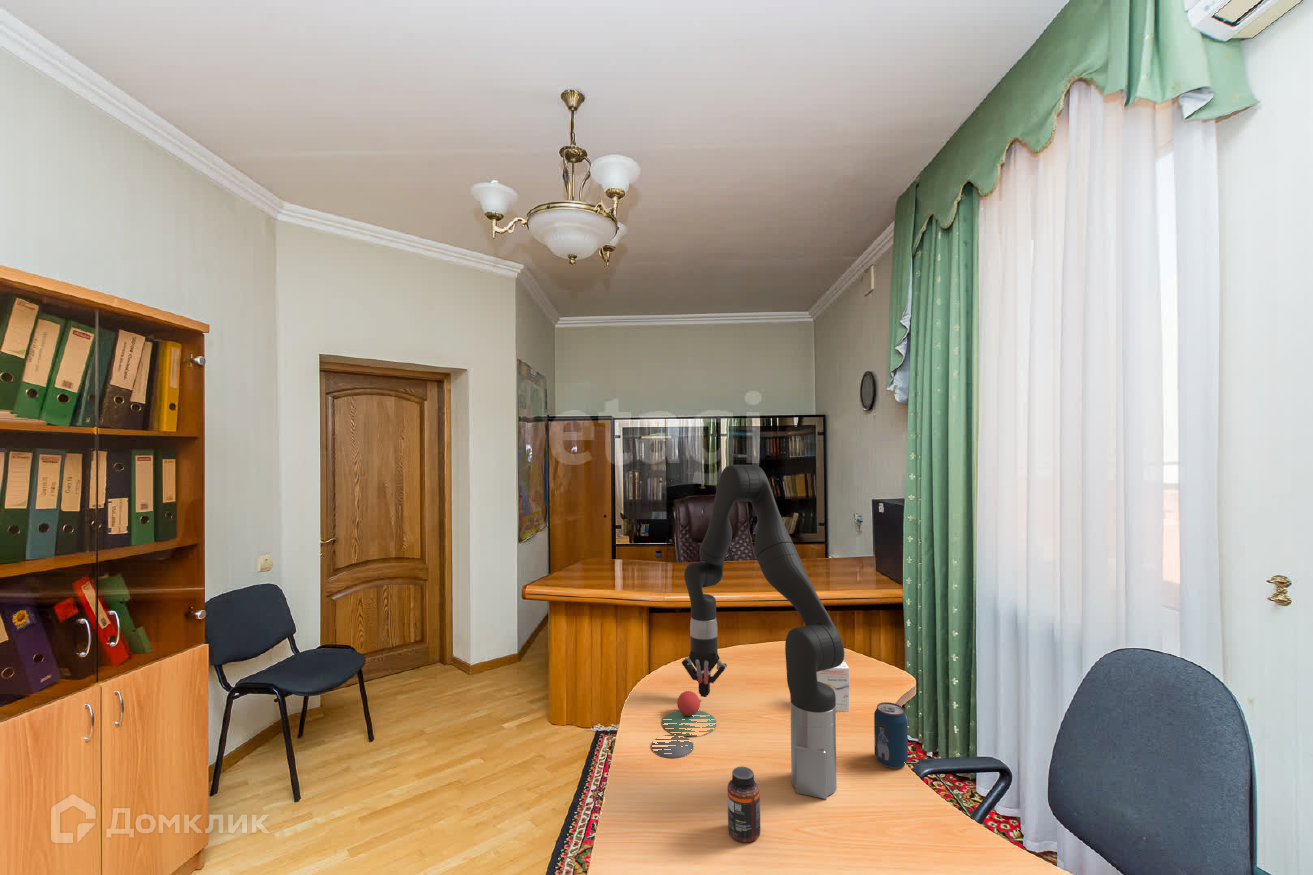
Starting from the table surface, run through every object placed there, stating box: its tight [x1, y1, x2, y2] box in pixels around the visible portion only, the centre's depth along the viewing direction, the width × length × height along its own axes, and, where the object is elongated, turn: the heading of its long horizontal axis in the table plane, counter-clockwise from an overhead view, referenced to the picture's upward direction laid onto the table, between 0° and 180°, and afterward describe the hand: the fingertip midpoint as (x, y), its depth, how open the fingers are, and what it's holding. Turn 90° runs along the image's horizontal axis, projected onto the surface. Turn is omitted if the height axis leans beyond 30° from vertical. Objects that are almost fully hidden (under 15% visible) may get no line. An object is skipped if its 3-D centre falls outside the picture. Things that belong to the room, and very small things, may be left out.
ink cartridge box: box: [817, 650, 850, 712], centre depth 156 cm, size 9×5×15 cm, turn 84°
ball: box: [676, 690, 701, 716], centre depth 153 cm, size 6×6×6 cm
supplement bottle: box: [726, 766, 761, 843], centre depth 107 cm, size 6×6×11 cm
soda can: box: [873, 701, 909, 769], centre depth 130 cm, size 7×7×12 cm
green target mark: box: [661, 709, 717, 736], centre depth 148 cm, size 14×14×1 cm
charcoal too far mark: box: [651, 734, 694, 759], centre depth 137 cm, size 10×10×1 cm
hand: (704, 695), depth 160 cm, fingers closed
